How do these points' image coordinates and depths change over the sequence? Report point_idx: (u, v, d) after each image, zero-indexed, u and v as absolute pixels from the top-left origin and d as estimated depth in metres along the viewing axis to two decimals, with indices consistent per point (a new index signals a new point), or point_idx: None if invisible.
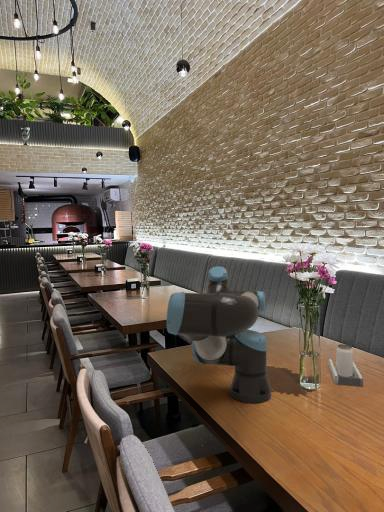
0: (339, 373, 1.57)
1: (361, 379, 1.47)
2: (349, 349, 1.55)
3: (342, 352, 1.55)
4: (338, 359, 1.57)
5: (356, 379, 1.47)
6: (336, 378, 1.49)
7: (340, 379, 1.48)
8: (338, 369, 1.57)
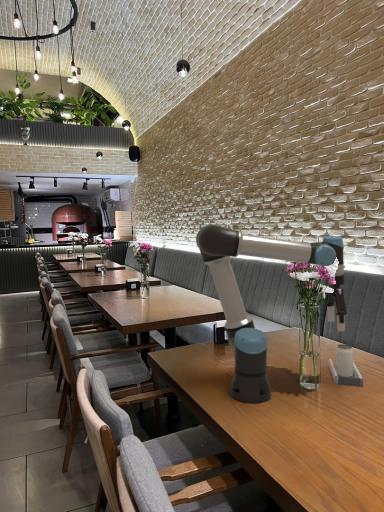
0: (339, 373, 1.57)
1: (361, 379, 1.47)
2: (349, 349, 1.55)
3: (342, 352, 1.55)
4: (338, 359, 1.57)
5: (356, 379, 1.47)
6: (336, 378, 1.49)
7: (340, 379, 1.48)
8: (338, 369, 1.57)
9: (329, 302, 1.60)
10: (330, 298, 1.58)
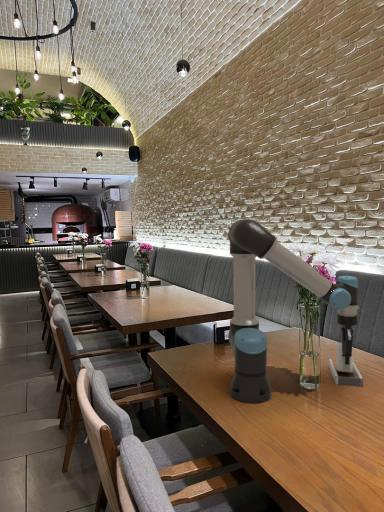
0: (339, 368, 1.57)
1: (361, 379, 1.47)
2: None
3: None
4: (338, 353, 1.59)
5: (356, 379, 1.47)
6: (336, 378, 1.49)
7: (340, 379, 1.48)
8: (338, 364, 1.58)
9: (344, 348, 1.55)
10: (344, 341, 1.55)
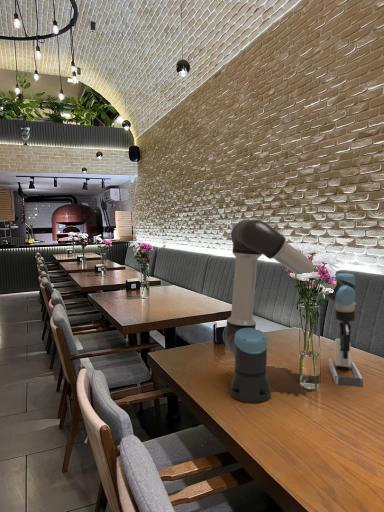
0: (338, 363, 1.63)
1: (361, 379, 1.47)
2: None
3: (340, 341, 1.65)
4: (337, 349, 1.65)
5: (356, 379, 1.47)
6: (336, 378, 1.49)
7: (340, 379, 1.48)
8: (337, 359, 1.64)
9: None
10: None
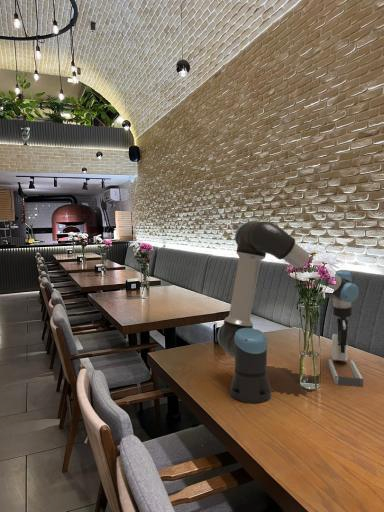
0: (336, 357, 1.70)
1: (361, 379, 1.47)
2: None
3: None
4: (334, 344, 1.72)
5: (356, 379, 1.47)
6: (336, 378, 1.49)
7: (340, 379, 1.48)
8: (335, 354, 1.71)
9: (340, 337, 1.68)
10: (340, 331, 1.68)
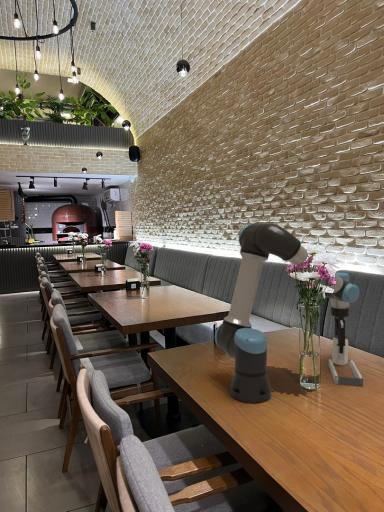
0: (336, 362, 1.70)
1: (361, 379, 1.47)
2: (345, 339, 1.68)
3: None
4: (335, 349, 1.70)
5: (356, 379, 1.47)
6: (336, 378, 1.49)
7: (340, 379, 1.48)
8: (335, 358, 1.70)
9: None
10: (337, 330, 1.74)
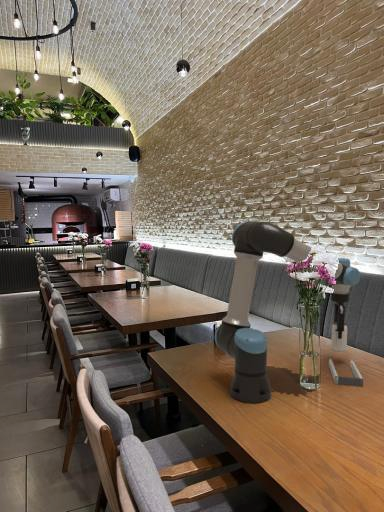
0: (335, 348, 1.70)
1: (361, 379, 1.47)
2: (344, 326, 1.69)
3: None
4: (334, 335, 1.70)
5: (356, 379, 1.47)
6: (336, 378, 1.49)
7: (340, 379, 1.48)
8: (334, 345, 1.70)
9: (336, 321, 1.75)
10: (336, 316, 1.74)
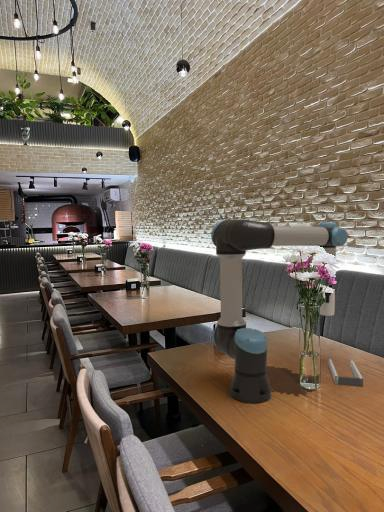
0: (323, 313, 1.69)
1: (361, 379, 1.47)
2: None
3: None
4: None
5: (356, 379, 1.47)
6: (336, 378, 1.49)
7: (340, 379, 1.48)
8: (322, 309, 1.69)
9: None
10: None
